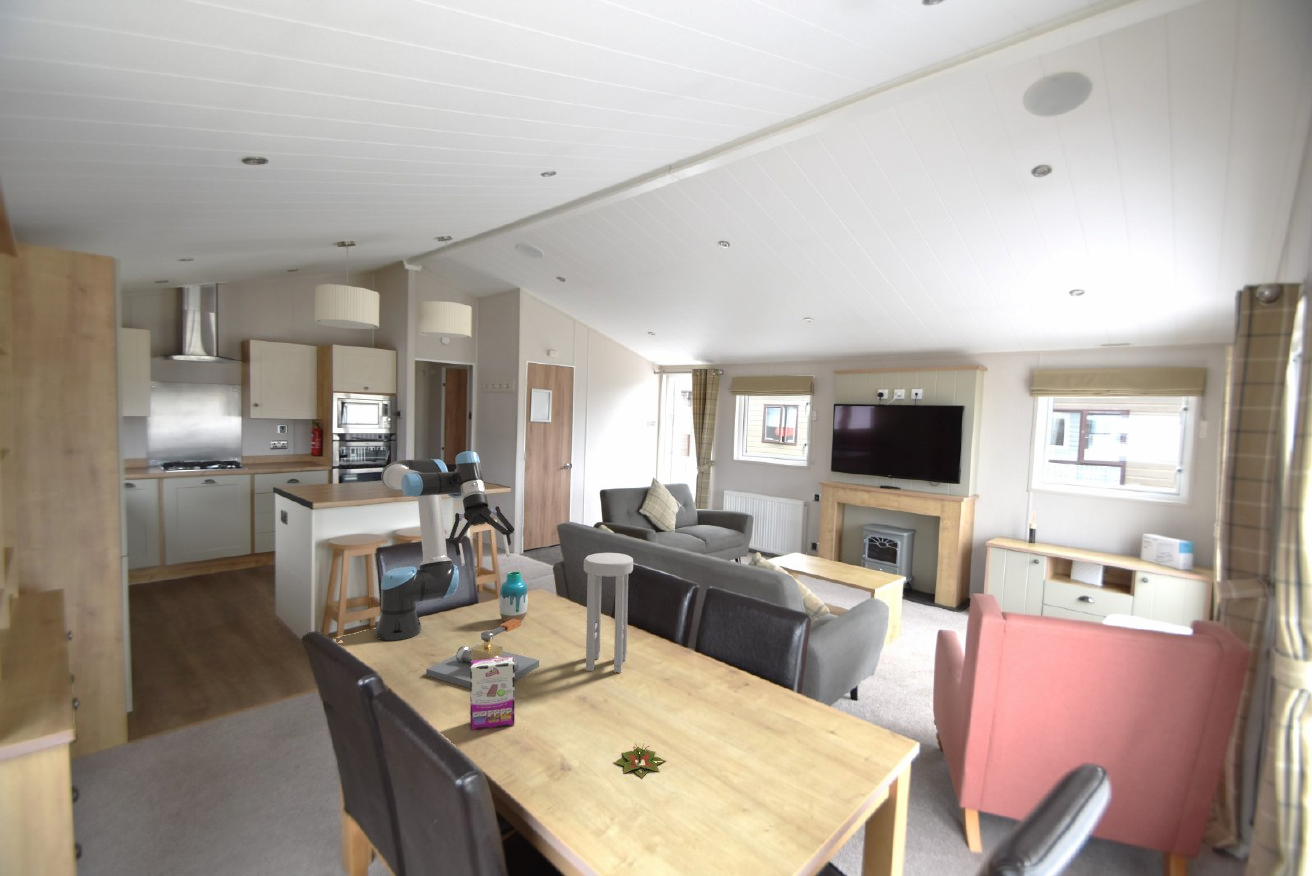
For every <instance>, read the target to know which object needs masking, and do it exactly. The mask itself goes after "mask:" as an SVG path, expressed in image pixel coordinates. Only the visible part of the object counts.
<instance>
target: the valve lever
mask: <svg viewBox="0 0 1312 876" xmlns="http://www.w3.org/2000/svg"><path fill="white" fill-rule="evenodd" d="M521 623H522V621H521V620H516V619H511V620H509V621H507V622H505V621H504V622H503V623H501V624H499V627H496V628H494V629H492V630H487V631H482V632H481V633H480V640H482V641H483V642H484V641H488V640H490V641H492V640H493V639H494V637H495V636H498V635H499V634H501V633H504V632H507V633H508V632H511V631H513V630H515V629H517V628H519V627H521Z"/></svg>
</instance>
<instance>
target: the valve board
mask: <svg viewBox="0 0 1312 876" xmlns="http://www.w3.org/2000/svg"><path fill="white" fill-rule="evenodd" d="M479 645H480V644H477V645H474V646H472V647H470V648H471V649H473V648H475V647H477V646H479ZM502 657H503V658H506V657H514V659H516V660H518V663H519V667H518V670H517V672H516V673H515V680H516V681H517V680H519V679H521V678H523V677H524V676H526V675H527V674H529V673H530V672H532V671H534V670H535V669H537V668H539V667H540V659H536V658H533V657H527V656H524V655H519V654H517V653H511V652H507V651H504V650H502ZM470 667H471V663H467V662H464V663H462V662H458V661H457V660H456V654H455V655H453V656H451V657H449V658H446V659H445V660H442V661H441V662H438V663H436V664H434V665H431V666H429V667H427V668H426V670H425V671H426V675H425V676H428V677H431V678H435V679H438V680H441V681H445V682H448V683H450V684H455V685H457V684H458V686H461V687H465V688H469V689H470Z"/></svg>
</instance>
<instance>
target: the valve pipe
mask: <svg viewBox="0 0 1312 876" xmlns="http://www.w3.org/2000/svg"><path fill="white" fill-rule="evenodd" d="M478 645H479V646H477V647H475V648H473V649H471V648H472V647H469V646H464V645H463V646H460V647H459V648H458V649H457V651H456V654H455V655H456V660H457V661H458V662H462V663H464V662H467V663H471V661H475V660H485V659H495V658H503V657H502V651H503V646H501V645H497V644H493V643H491V640H488V641H484V640H483V643H481V644H478ZM514 664H515V673H516V672H517V670H518V667H519V663H518V660H516V659H514Z"/></svg>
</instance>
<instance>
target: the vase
mask: <svg viewBox="0 0 1312 876" xmlns="http://www.w3.org/2000/svg"><path fill="white" fill-rule="evenodd" d="M528 593H529V592H528V586H527V584H526V582H524V581H523V579H522V572H521V571H518V570H517V571H508V572H507V573H506V580H505V582H503V583H502V584H501V586H500V590H499V613H500V618H501V619H502V621H504V623H505V622H507V621H509V620H511V619H516V620H521V622H522V621H523V620H524V619H525V618H526V617H527V612H528V602H529V601H528V598H529V597H528V596H529V595H528Z"/></svg>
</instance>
